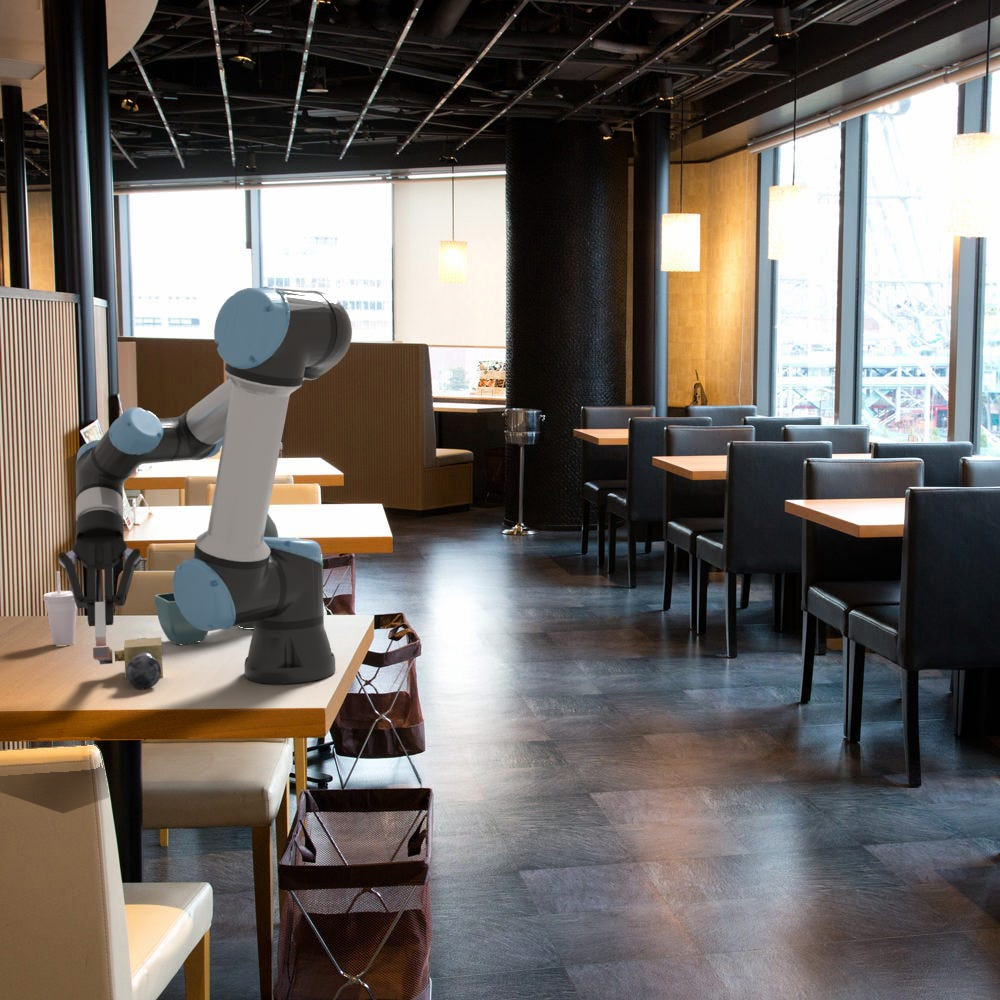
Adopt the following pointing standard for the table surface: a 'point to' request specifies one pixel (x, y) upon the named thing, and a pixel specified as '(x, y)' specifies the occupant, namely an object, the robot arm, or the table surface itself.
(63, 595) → the smoothie
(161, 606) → the flower pot
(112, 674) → the table surface
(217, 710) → the table surface
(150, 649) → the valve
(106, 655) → the lever
